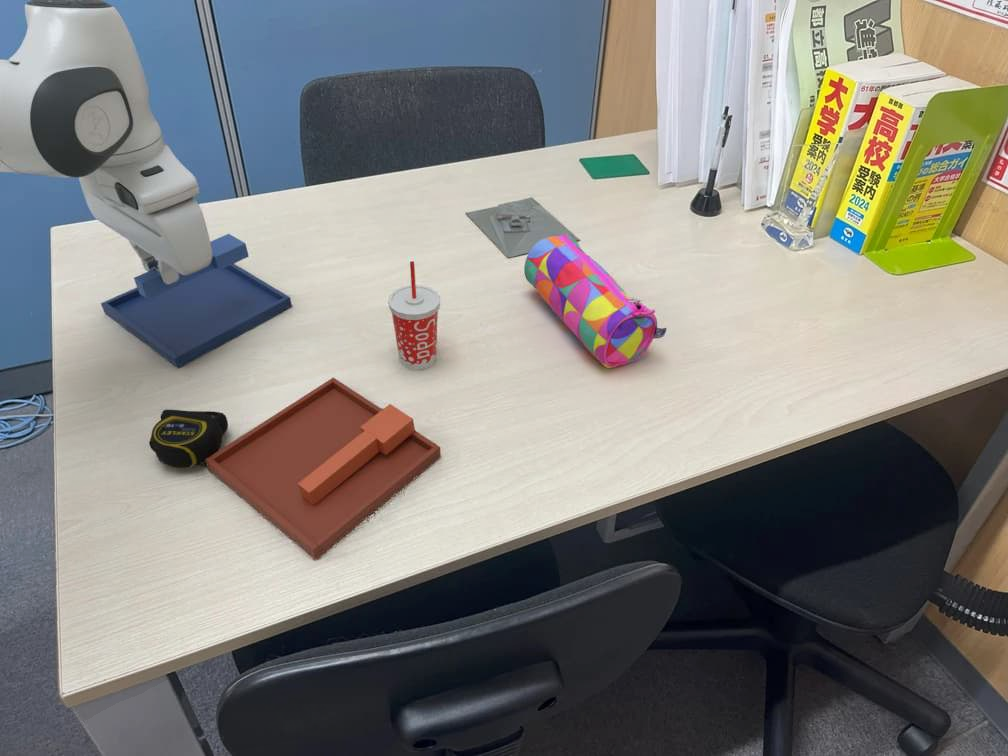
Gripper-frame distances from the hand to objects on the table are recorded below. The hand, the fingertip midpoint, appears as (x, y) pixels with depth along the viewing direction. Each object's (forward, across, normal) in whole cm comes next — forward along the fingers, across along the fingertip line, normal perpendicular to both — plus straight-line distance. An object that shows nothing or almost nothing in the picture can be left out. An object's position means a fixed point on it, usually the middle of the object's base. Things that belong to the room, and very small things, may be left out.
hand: (162, 275), depth 84 cm
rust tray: (+10, +30, -2) cm, 31 cm away
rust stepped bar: (+8, +33, +1) cm, 34 cm away
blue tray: (+10, -4, +5) cm, 12 cm away
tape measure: (+10, +17, -10) cm, 22 cm away
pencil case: (+10, +37, +37) cm, 53 cm away
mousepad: (+10, +9, +52) cm, 54 cm away
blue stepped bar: (+2, 0, +5) cm, 5 cm away
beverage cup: (+10, +25, +17) cm, 32 cm away
